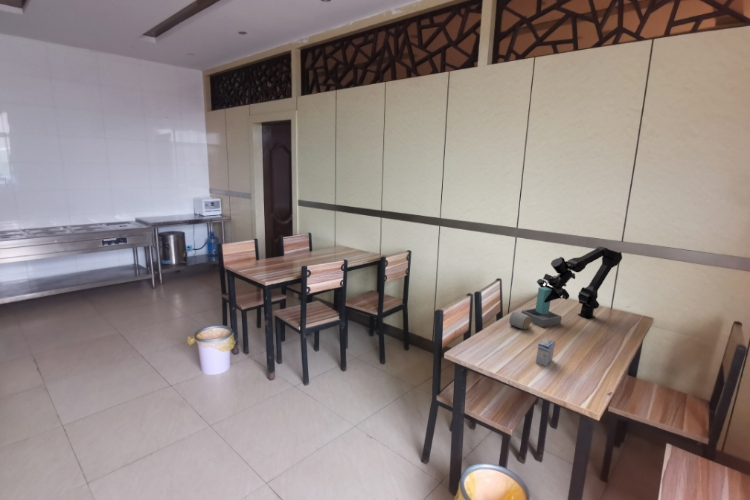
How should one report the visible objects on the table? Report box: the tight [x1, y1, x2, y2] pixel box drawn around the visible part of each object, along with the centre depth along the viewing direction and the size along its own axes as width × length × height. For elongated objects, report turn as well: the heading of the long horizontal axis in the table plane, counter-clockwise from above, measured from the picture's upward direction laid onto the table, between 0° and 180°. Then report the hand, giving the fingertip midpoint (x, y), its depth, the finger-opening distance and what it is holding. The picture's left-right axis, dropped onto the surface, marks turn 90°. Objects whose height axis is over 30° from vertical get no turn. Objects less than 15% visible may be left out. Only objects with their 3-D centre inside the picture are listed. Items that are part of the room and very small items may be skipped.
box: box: [521, 307, 563, 328], centre depth 206 cm, size 14×14×4 cm
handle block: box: [535, 286, 552, 314], centre depth 204 cm, size 4×4×13 cm
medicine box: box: [535, 337, 556, 367], centre depth 162 cm, size 8×4×9 cm, turn 141°
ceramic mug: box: [508, 310, 531, 330], centre depth 197 cm, size 11×8×8 cm
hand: (541, 300), depth 203 cm, fingers closed on handle block, 4 cm apart
